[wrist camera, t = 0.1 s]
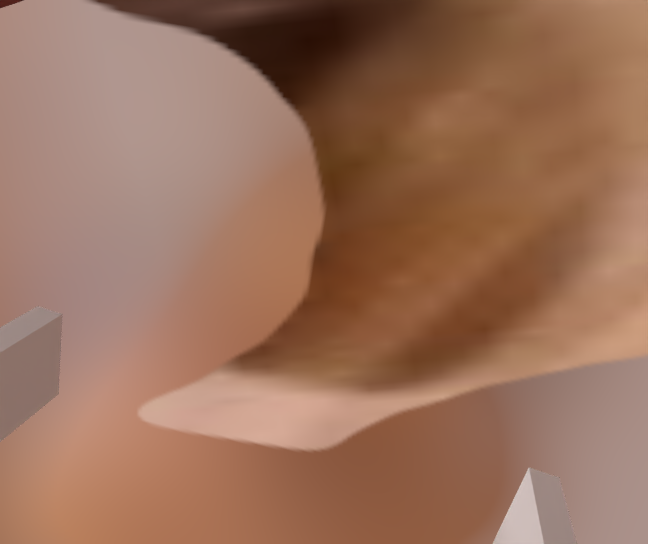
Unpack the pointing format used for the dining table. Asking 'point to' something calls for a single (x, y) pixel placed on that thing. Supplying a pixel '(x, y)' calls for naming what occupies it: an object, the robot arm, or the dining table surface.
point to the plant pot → (8, 2)
